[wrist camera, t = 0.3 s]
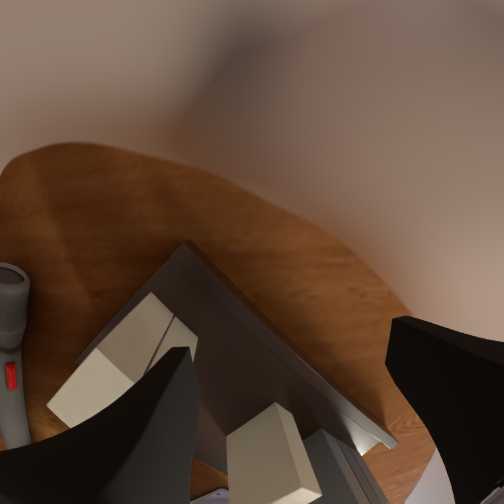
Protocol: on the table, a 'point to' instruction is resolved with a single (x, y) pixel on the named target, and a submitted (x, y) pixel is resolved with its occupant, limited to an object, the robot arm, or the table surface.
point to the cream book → (269, 462)
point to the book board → (246, 362)
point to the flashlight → (13, 355)
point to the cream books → (121, 360)
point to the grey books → (341, 472)
